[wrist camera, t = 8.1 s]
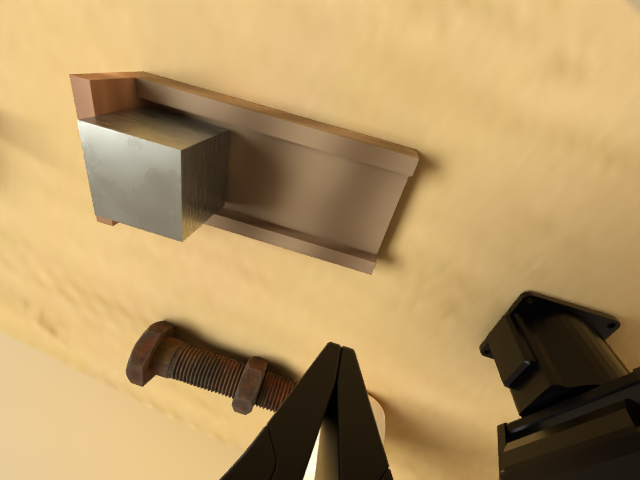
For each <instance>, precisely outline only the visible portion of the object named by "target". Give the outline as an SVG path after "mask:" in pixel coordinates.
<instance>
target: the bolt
mask: <svg viewBox="0 0 640 480" xmlns="http://www.w3.org/2000/svg"><path fill="white" fill-rule="evenodd" d="M267 366H268V364H267V362H266V360H263V359H261V358H258V357H255V356H254V357H252V358H249V360H248V362H247V364H246V365H245V363H243V364H242V362H240V363H239V362H238V361H236V362H235V359H234V360H233V361H232V358H231V359H229V357H227V358H226V357H225V356H224V357H222V355H220V356H219V354H217V355H216V353H213V354H212V352H210V353H209V351H208V350H207V351H206V350H205V349H204V350H202V348H200V349H199V347H197V348H196V346H193V345H189V344H188V343H186V342H185V341H182V340H179V339H176V338H174V325H173V324H171V323H168V322H165V321H159V322H156V323H154V324H152V325H151V326H150V327H149V328H148V329H147V330H146V331H145V332H144V333H143V334H142V336H141V337H140V338H139V340H138V341H137V343H136V344H135V346H134V348H133V350H132V353H131V355H130V358H129V360H128V364H127V368H126V375H127V377H128V379H129V381H130V382H131V383H133V384H136V385H139V386H142V387H143V386H144V385H145V384H146V383H147V382H148V381H150V380H151V379H152V378H153V377H154V376H155V375H159V376H162V377H165V378H172V379H176V380H179V381H183V382H184V383H185V382H186V383H187V384H189V383H190V385H194V386H196V385H197V387H200V388H204V389H205V390H206V389H208V391H209V390H211V392H213V391H215V393H216V392H218V394H220V393H222V395H224V394H225V396H227V395H228V396H229V398H230V397H231V396H232V399H233V402H232V407H233V410H234V411H235V412H238V413H241V414H244V415H247V414H248V413H250V412H251V411H252V409H253V406H254V405H255V404H256V406H258V405H259V407H263V409H264V408H265V407H266V409H267V410H268V409H270V411H272V410H273V411H274V412H275V411H277V410H278V408H279V407H280V406H281V404H282V403H283V402H284V400H285V399H286V398H287V397H288V395H289V394H290V393H291V391H292V390H293V389H294V387H295V386H296V385H297V381H295V382H294V379H293V380H291V378H290V379H288V377H286V378H285V377H284V376H283V377H281V375H280V376H278V374H276V375H275V373H273V374H271V372H269V373H268V370H267V371H266V369H267Z"/></svg>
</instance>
